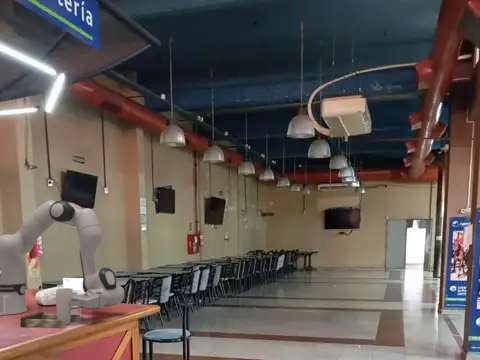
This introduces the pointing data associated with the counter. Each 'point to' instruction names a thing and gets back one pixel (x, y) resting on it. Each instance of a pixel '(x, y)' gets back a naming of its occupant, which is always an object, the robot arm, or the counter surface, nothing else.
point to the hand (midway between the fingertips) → (64, 303)
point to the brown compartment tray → (46, 320)
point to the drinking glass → (64, 304)
